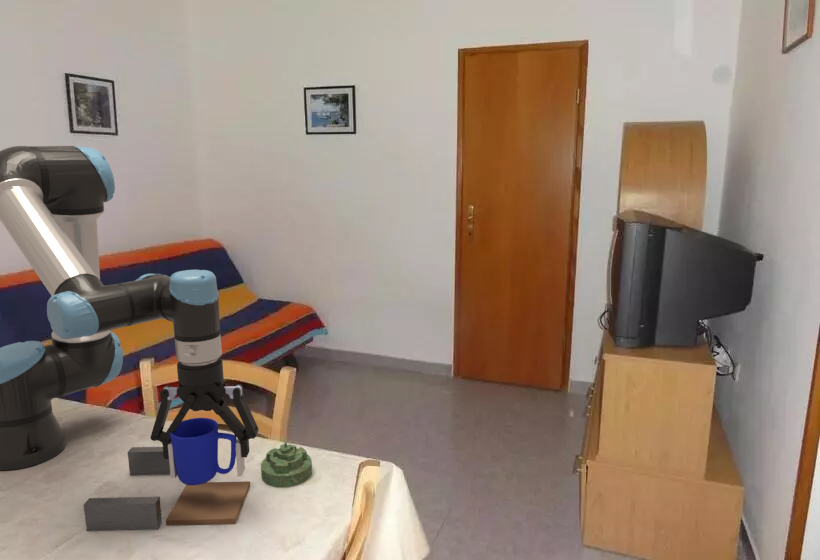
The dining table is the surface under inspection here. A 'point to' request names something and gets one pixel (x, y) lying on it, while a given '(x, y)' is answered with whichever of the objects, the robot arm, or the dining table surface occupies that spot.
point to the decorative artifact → (286, 466)
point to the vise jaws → (130, 498)
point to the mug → (199, 450)
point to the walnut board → (209, 504)
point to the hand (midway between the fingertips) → (208, 473)
